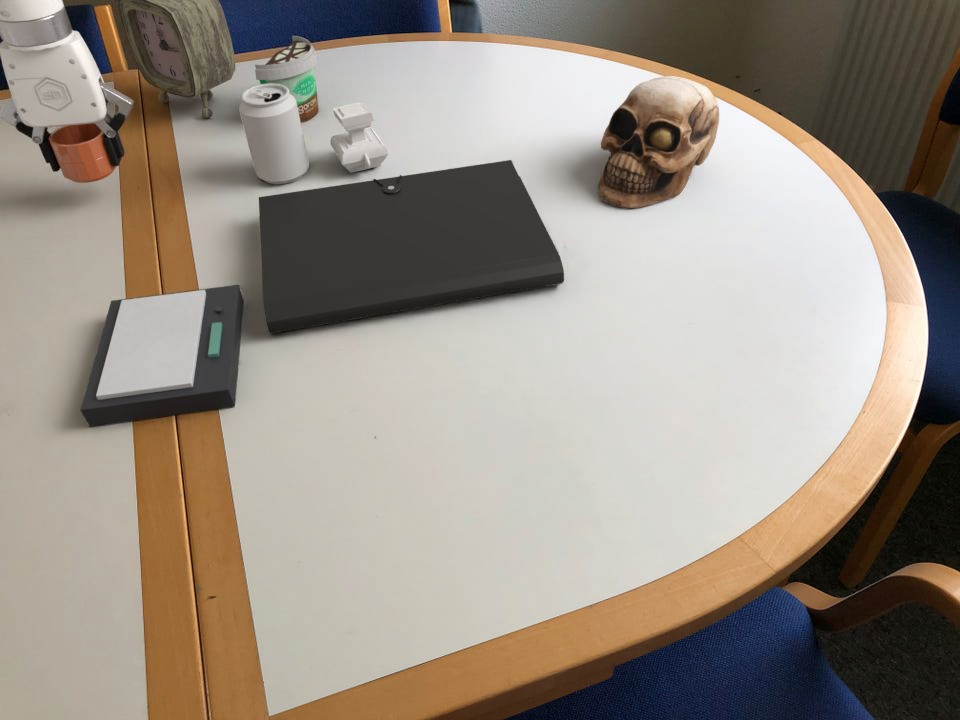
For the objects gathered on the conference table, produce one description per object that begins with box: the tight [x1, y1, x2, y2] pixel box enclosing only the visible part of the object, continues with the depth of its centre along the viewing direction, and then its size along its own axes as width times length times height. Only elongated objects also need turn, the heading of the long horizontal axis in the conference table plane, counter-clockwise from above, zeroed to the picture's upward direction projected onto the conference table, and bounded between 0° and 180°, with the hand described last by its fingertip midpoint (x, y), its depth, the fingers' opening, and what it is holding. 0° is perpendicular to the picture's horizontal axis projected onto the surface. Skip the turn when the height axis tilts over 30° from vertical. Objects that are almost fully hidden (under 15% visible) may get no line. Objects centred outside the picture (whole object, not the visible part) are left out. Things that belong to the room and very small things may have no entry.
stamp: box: [330, 101, 389, 174], centre depth 110 cm, size 9×7×8 cm
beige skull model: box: [597, 75, 720, 209], centre depth 105 cm, size 16×17×13 cm
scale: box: [79, 284, 245, 428], centre depth 83 cm, size 14×17×3 cm
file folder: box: [258, 159, 565, 334], centre depth 95 cm, size 33×4×24 cm
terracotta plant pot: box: [48, 123, 117, 184], centre depth 104 cm, size 7×7×6 cm
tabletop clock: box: [117, 0, 236, 119], centre depth 121 cm, size 14×9×25 cm, turn 55°
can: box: [238, 83, 310, 185], centre depth 108 cm, size 8×8×12 cm
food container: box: [254, 35, 320, 124], centre depth 122 cm, size 12×6×10 cm, turn 161°
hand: (88, 163), depth 105 cm, fingers closed on terracotta plant pot, 6 cm apart
